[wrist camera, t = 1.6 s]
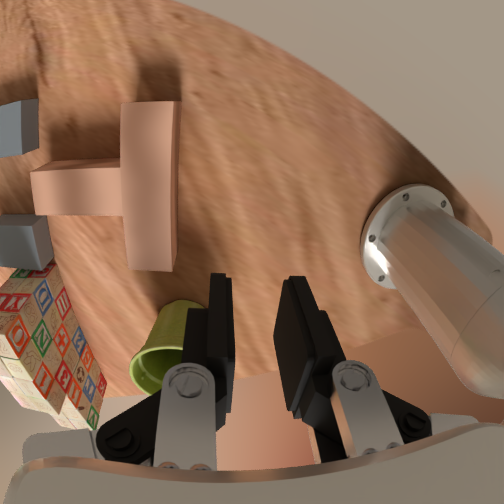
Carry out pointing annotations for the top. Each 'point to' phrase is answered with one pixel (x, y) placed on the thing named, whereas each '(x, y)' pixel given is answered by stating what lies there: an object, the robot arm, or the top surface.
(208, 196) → the top surface
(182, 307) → the plant pot
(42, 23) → the top surface
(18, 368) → the stack of blocks
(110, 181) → the t block
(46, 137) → the top surface
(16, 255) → the t dock
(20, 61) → the top surface
